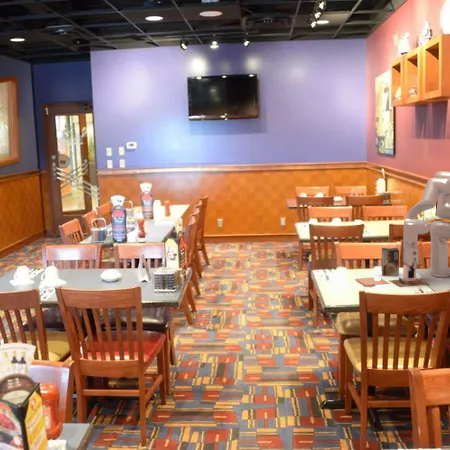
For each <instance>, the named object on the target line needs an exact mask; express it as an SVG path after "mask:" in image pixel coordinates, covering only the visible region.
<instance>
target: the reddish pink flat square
mask: <svg viewBox="0 0 450 450" xmlns="http://www.w3.org/2000/svg"><path fill="white" fill-rule="evenodd" d="M354 280H355V281H356V282H357V283H359V284H360V285H362V286H364V287H365V288H369V287H376V286H377V285H389V284H390V283H391V282H389V281H386V280H385V279H383V278H381V280H380V281H375V280H374V278H373V276H372V277H362V278H361V277H360V278H359V277H358V278H355V279H354Z"/></svg>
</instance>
